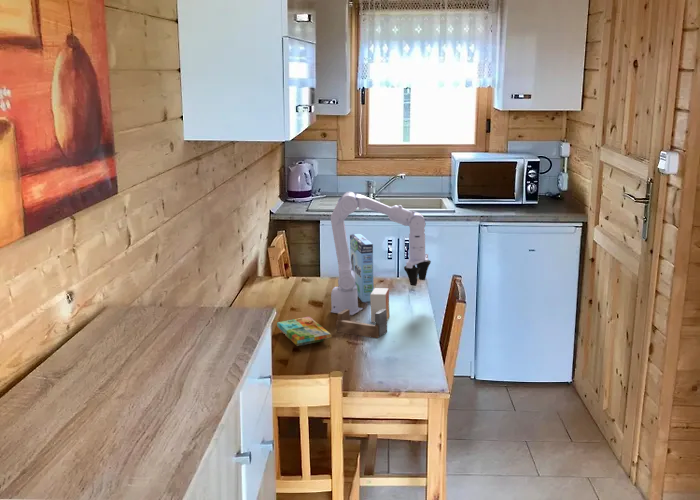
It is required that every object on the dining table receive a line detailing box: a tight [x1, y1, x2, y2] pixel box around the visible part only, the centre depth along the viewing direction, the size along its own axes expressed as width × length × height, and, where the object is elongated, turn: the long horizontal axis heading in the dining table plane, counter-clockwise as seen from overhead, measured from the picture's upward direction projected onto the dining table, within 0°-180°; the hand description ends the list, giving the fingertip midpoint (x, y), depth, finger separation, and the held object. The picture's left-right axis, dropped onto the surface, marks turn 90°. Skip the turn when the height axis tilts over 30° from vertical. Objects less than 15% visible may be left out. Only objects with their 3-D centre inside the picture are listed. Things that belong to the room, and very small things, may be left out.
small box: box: [370, 287, 390, 323], centre depth 250 cm, size 8×6×10 cm
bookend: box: [374, 309, 388, 338], centre depth 236 cm, size 2×6×8 cm, turn 150°
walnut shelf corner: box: [335, 309, 380, 339], centre depth 239 cm, size 16×7×6 cm, turn 60°
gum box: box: [349, 233, 375, 303], centre depth 278 cm, size 20×5×23 cm, turn 13°
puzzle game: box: [276, 316, 332, 347], centre depth 235 cm, size 12×5×20 cm
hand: (417, 282), depth 257 cm, fingers open, 7 cm apart
